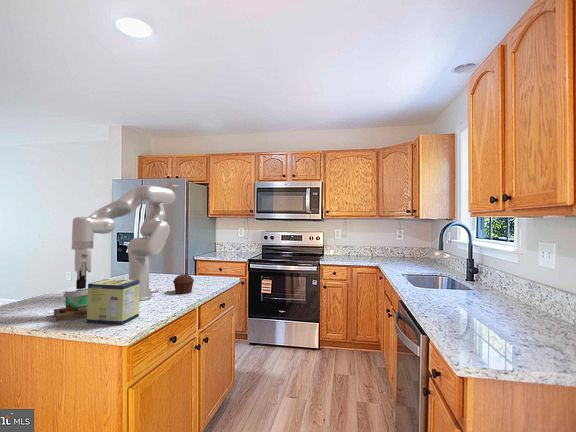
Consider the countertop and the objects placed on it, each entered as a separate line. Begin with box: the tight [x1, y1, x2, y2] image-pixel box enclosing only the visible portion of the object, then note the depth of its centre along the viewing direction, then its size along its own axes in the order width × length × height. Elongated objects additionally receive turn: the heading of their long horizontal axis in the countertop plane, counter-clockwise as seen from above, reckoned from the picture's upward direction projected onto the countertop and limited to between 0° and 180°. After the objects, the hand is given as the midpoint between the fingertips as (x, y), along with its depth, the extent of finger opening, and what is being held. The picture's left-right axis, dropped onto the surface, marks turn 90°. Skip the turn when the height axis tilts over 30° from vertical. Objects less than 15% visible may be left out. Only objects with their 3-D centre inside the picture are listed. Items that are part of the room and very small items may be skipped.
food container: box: [63, 287, 88, 313], centre depth 121 cm, size 12×6×10 cm, turn 165°
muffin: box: [172, 273, 195, 295], centre depth 162 cm, size 12×11×10 cm
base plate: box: [53, 307, 87, 323], centre depth 121 cm, size 17×11×2 cm, turn 133°
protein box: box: [86, 278, 140, 326], centre depth 116 cm, size 10×16×16 cm
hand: (81, 288), depth 121 cm, fingers closed
